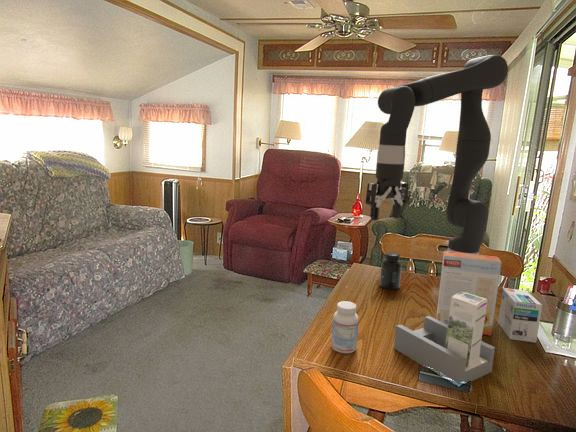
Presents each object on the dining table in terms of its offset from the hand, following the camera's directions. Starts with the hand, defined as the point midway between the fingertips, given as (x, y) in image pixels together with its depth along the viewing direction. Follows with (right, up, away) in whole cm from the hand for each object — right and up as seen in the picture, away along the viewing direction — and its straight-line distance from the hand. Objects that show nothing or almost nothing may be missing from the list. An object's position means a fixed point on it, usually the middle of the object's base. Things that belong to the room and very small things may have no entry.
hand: (385, 218), depth 114 cm
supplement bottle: (+8, -24, +26) cm, 36 cm away
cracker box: (+21, -30, -3) cm, 37 cm away
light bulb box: (+35, -31, -4) cm, 47 cm away
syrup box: (+11, -31, -25) cm, 41 cm away
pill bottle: (-14, -32, -17) cm, 38 cm away
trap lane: (+8, -33, -20) cm, 39 cm away
